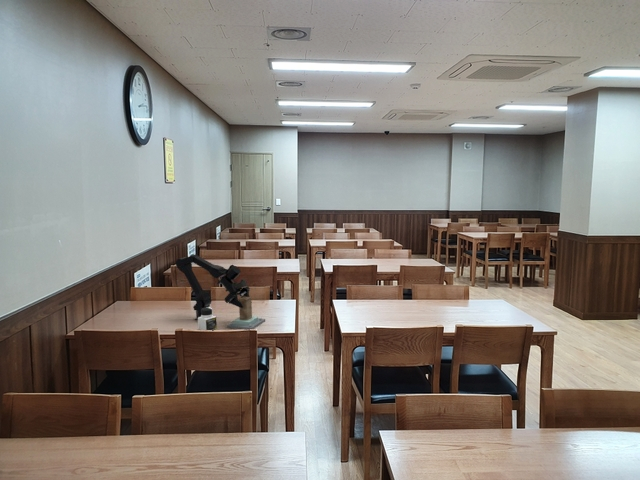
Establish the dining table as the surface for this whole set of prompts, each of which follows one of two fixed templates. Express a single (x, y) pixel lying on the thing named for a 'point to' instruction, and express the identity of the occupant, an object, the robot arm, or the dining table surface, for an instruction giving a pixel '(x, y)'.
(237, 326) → the base plate
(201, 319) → the medicine bottle
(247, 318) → the walnut pillar
